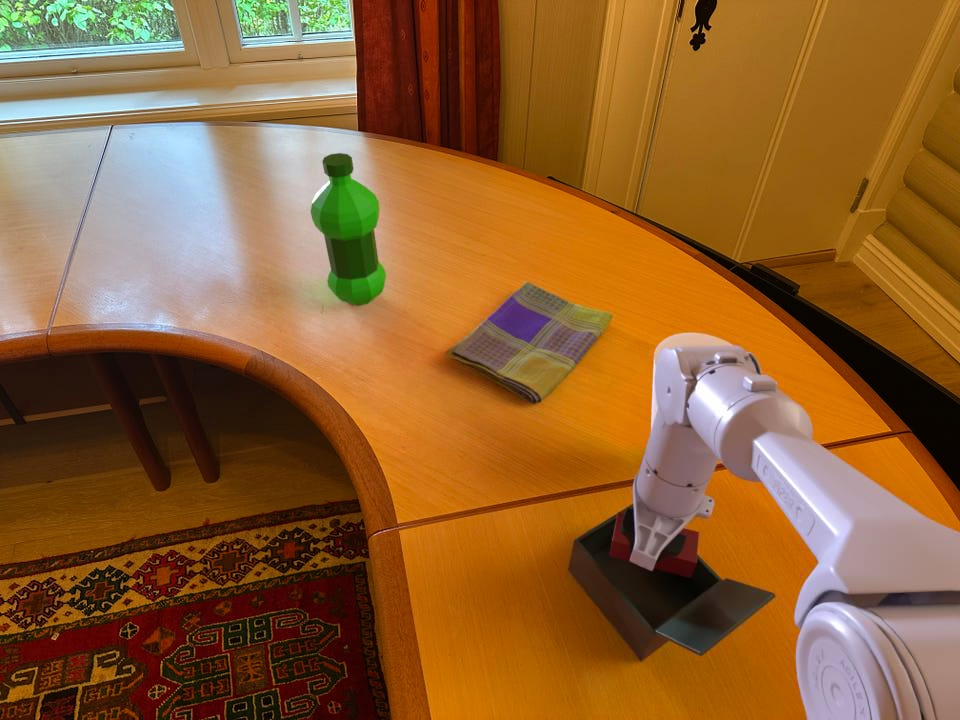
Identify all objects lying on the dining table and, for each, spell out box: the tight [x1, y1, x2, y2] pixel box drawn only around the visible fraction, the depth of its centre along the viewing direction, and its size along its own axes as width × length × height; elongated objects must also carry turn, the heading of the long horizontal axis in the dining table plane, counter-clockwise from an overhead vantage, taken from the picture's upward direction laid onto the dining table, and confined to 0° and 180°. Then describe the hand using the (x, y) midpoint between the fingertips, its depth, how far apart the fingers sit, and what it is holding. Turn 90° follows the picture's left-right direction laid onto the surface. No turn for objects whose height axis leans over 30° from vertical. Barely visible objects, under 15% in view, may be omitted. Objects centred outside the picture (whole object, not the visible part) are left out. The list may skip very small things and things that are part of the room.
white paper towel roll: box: [650, 332, 734, 431], centre depth 73 cm, size 11×11×18 cm
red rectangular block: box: [609, 511, 700, 578], centre depth 61 cm, size 8×4×3 cm, turn 72°
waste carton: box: [567, 503, 724, 662], centre depth 64 cm, size 12×10×6 cm
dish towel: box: [444, 281, 613, 404], centre depth 96 cm, size 18×24×3 cm
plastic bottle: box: [310, 152, 387, 307], centre depth 97 cm, size 10×10×25 cm
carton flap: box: [656, 577, 777, 657], centre depth 55 cm, size 6×10×1 cm
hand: (648, 543), depth 61 cm, fingers closed on red rectangular block, 4 cm apart
